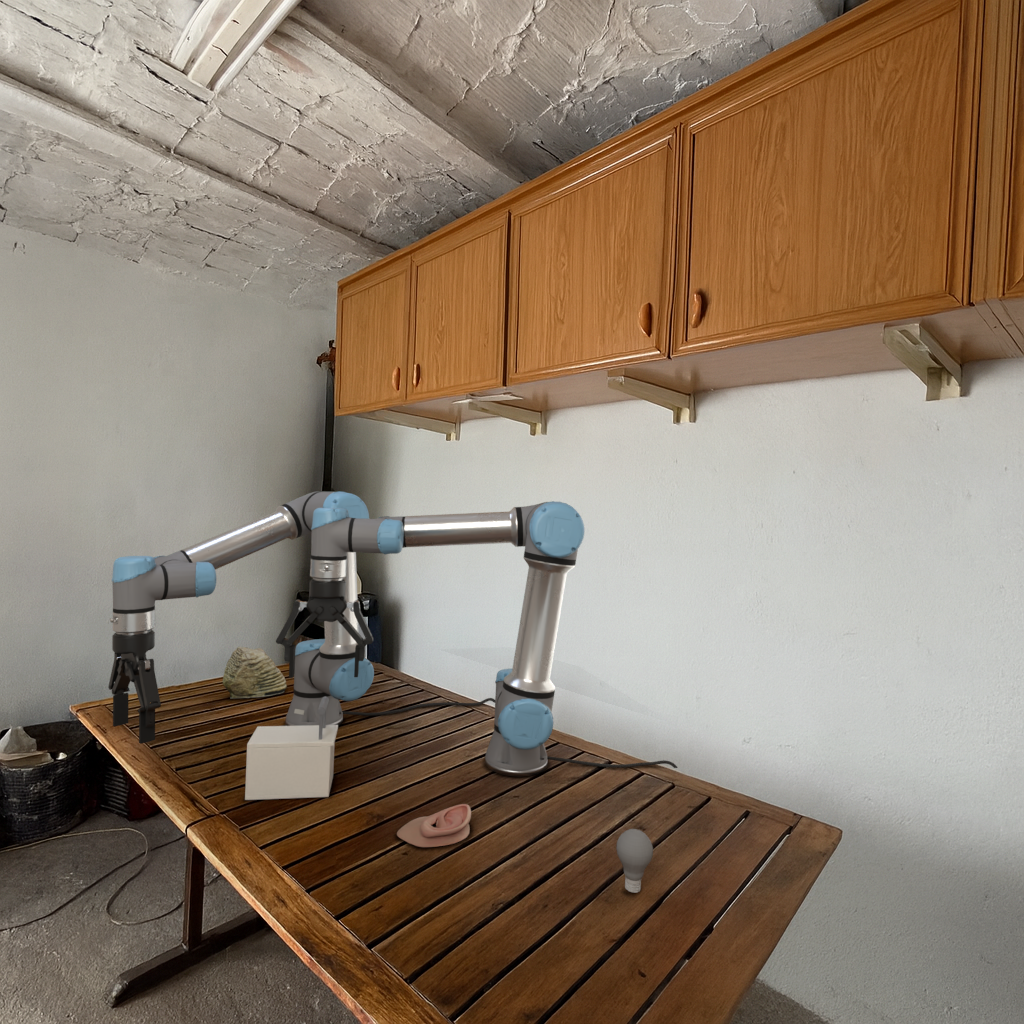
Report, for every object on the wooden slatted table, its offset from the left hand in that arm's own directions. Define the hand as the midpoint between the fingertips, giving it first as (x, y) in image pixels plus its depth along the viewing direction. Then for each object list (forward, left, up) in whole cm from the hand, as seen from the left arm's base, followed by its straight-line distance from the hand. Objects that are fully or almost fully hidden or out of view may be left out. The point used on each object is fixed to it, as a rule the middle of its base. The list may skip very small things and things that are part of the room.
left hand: (133, 732), depth 131 cm
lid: (-24, +21, -2) cm, 32 cm away
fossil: (-51, -43, -13) cm, 67 cm away
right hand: (-29, +25, +12) cm, 40 cm away
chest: (-24, +21, -13) cm, 34 cm away
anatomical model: (-32, +57, -13) cm, 66 cm away
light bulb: (-42, +94, -13) cm, 104 cm away
